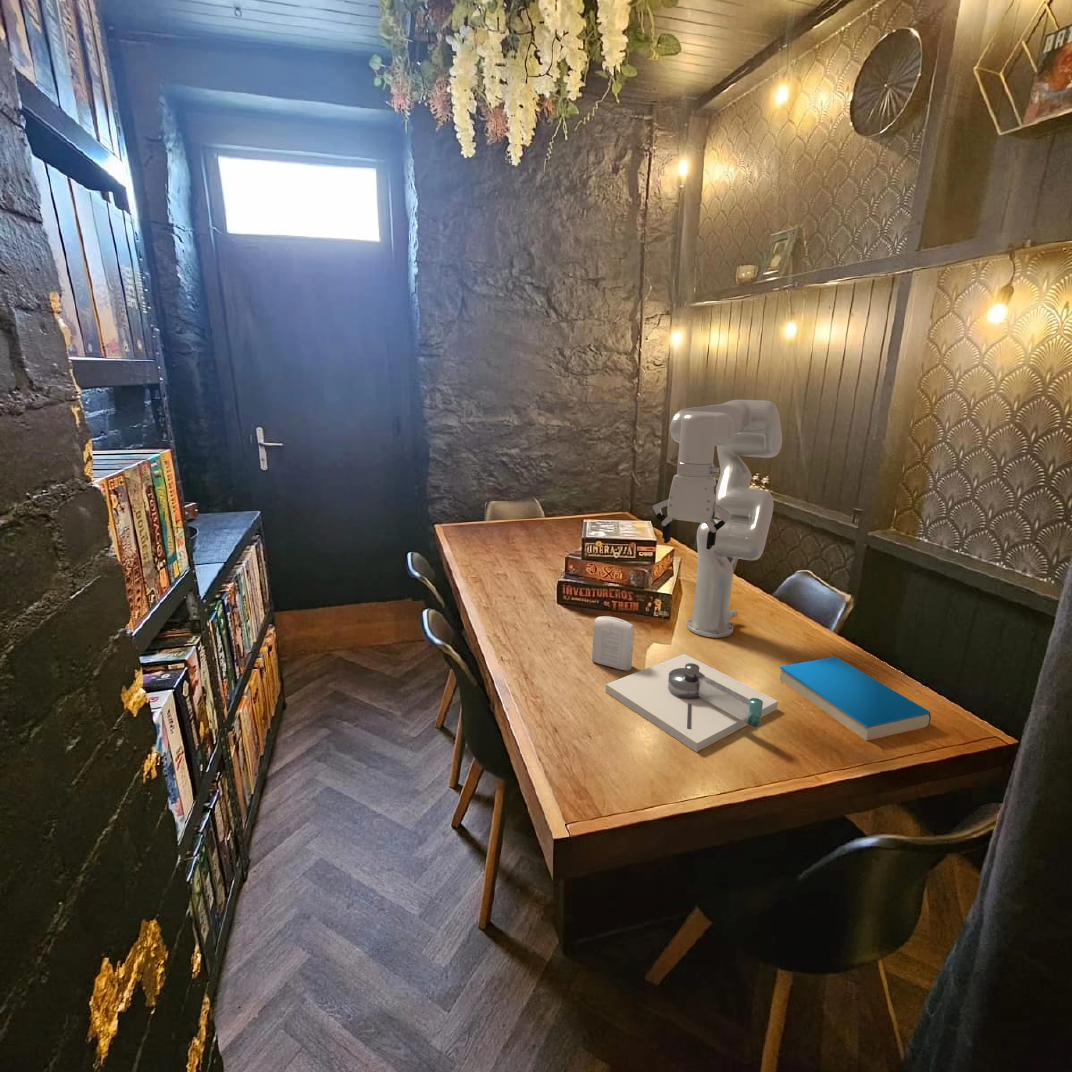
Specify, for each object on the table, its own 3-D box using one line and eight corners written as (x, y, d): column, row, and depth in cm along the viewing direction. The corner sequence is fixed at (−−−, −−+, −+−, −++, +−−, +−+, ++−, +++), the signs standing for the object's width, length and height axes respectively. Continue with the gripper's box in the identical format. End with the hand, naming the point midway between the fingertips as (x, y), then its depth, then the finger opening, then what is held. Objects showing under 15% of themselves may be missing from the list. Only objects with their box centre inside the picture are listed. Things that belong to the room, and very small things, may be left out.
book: (868, 726, 112) (779, 665, 135) (865, 745, 113) (776, 681, 136) (933, 711, 117) (837, 654, 140) (929, 729, 119) (834, 670, 141)
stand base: (683, 661, 144) (684, 653, 144) (776, 709, 124) (778, 700, 123) (605, 692, 130) (606, 683, 130) (696, 752, 110) (697, 742, 109)
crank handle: (660, 686, 128) (662, 662, 127) (684, 676, 133) (686, 652, 131) (745, 736, 111) (749, 709, 109) (770, 723, 115) (774, 696, 113)
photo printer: (634, 665, 142) (637, 619, 139) (628, 673, 139) (630, 625, 135) (596, 655, 147) (598, 610, 144) (589, 662, 143) (590, 616, 140)
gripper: (738, 472, 127) (729, 546, 131) (661, 465, 135) (655, 536, 139) (731, 476, 120) (723, 554, 125) (651, 469, 128) (646, 543, 132)
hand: (687, 545), depth 132 cm, fingers open, 9 cm apart
